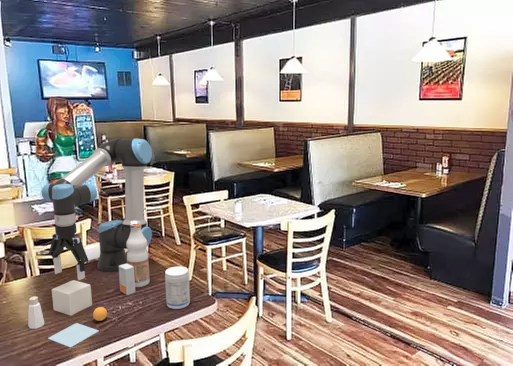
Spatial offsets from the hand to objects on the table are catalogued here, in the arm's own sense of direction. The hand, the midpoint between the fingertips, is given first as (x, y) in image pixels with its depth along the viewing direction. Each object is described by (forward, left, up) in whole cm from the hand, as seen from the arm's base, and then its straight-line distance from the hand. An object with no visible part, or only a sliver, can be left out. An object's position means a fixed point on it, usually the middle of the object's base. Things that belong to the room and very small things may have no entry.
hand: (69, 275), depth 168 cm
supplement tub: (-22, +36, -14) cm, 44 cm away
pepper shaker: (+16, 0, -14) cm, 21 cm away
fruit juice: (-30, +7, -14) cm, 34 cm away
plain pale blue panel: (+14, +18, -14) cm, 26 cm away
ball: (+2, +18, -11) cm, 21 cm away
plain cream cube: (0, 0, -14) cm, 14 cm away
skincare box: (-21, +9, -14) cm, 27 cm away
